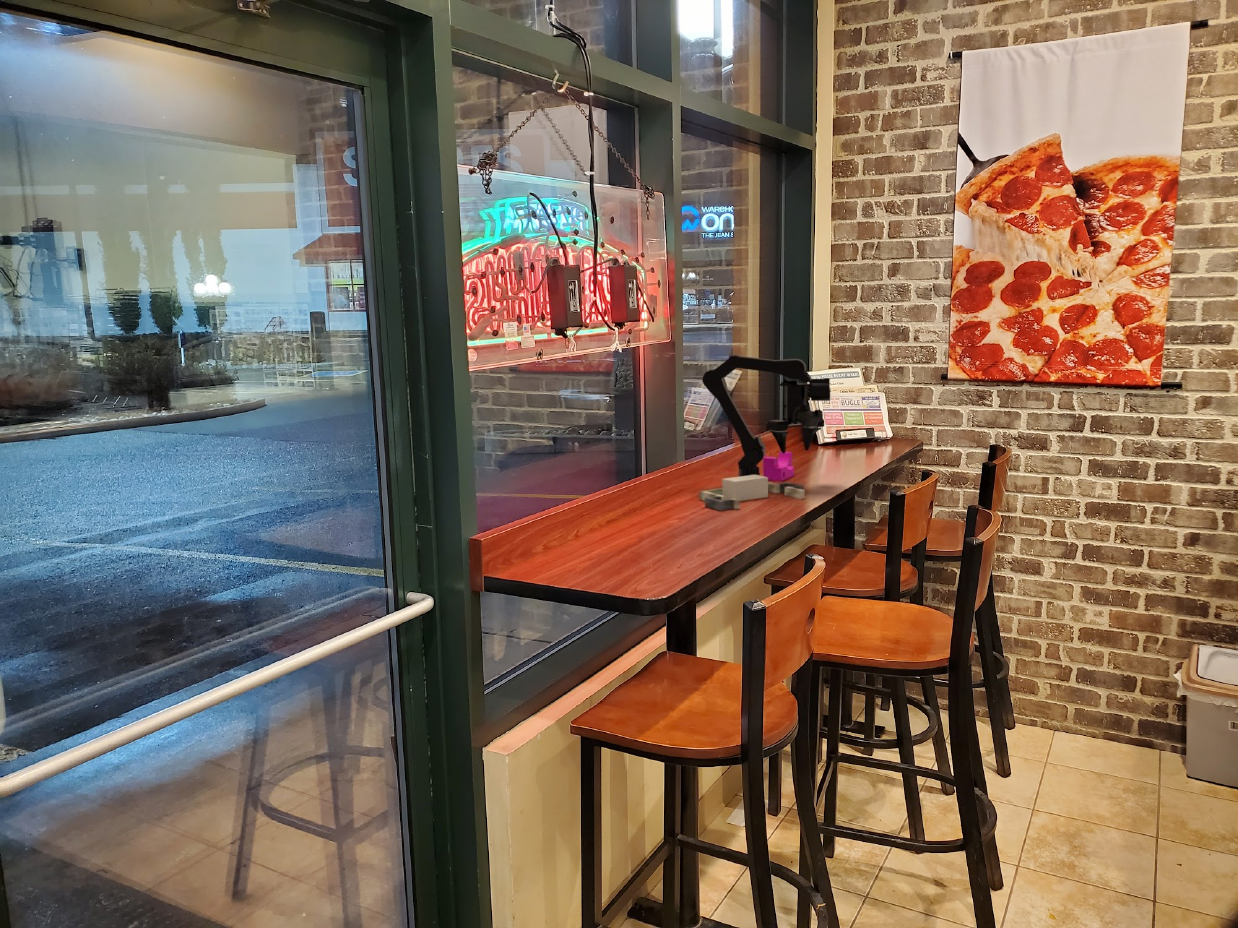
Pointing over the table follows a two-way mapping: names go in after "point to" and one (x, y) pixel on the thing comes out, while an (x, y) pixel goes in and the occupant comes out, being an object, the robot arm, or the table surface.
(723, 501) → the trap lane
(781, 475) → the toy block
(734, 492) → the push block
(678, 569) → the table surface
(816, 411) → the robot arm
